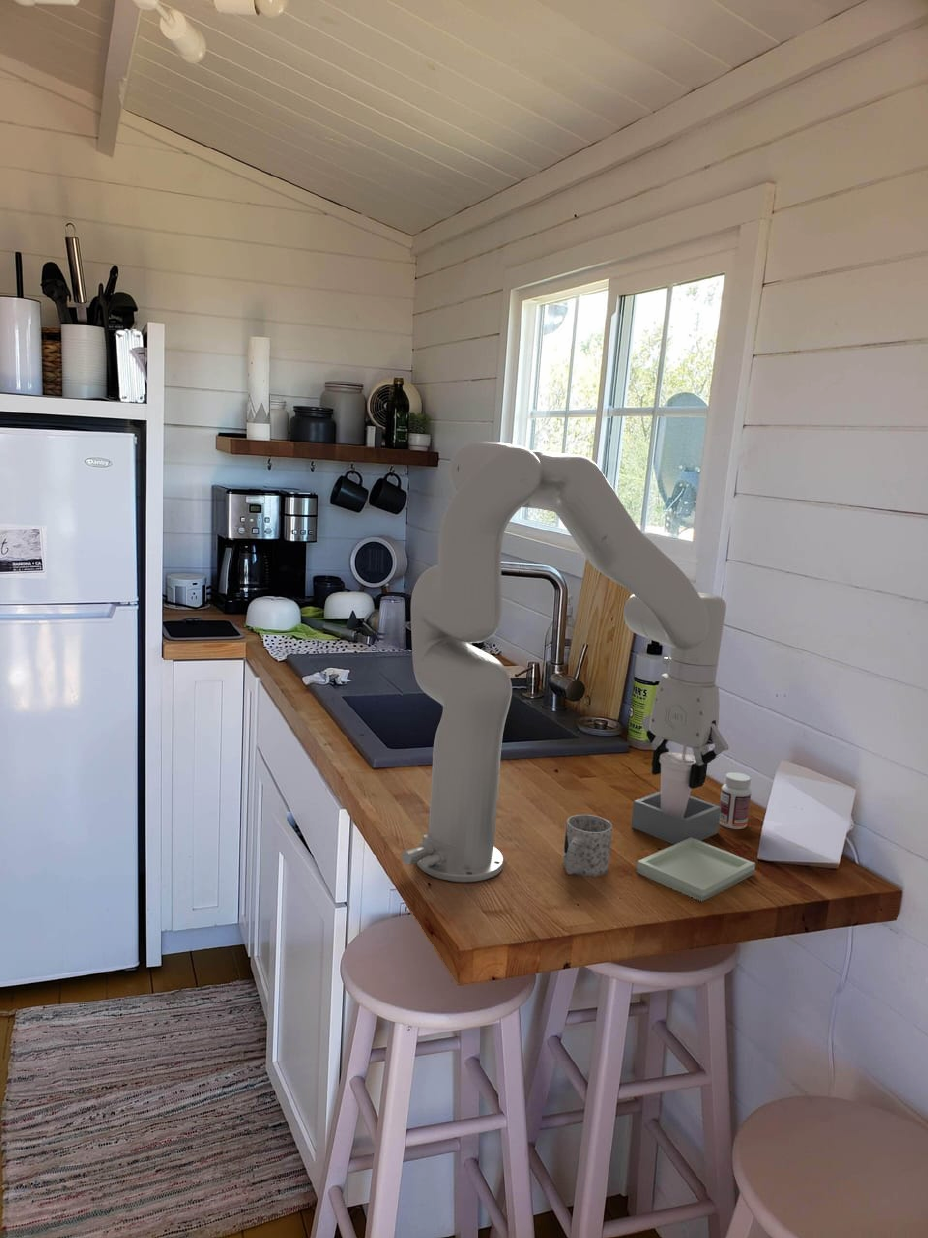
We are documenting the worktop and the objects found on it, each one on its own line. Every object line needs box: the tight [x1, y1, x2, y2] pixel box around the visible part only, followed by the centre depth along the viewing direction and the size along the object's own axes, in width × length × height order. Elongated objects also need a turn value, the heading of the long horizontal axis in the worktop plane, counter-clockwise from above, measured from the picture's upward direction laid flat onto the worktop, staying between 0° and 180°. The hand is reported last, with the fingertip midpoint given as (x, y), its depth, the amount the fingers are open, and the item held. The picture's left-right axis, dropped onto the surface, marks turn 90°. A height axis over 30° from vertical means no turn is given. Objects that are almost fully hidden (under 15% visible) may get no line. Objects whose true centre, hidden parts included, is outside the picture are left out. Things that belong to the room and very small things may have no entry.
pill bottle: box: [719, 772, 752, 830], centre depth 159 cm, size 5×5×8 cm
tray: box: [636, 837, 756, 903], centre depth 141 cm, size 14×11×2 cm
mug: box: [562, 814, 613, 877], centre depth 139 cm, size 10×7×7 cm, turn 150°
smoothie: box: [659, 745, 696, 818], centre depth 154 cm, size 6×6×14 cm
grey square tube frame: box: [630, 790, 721, 845], centre depth 156 cm, size 10×10×4 cm
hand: (677, 778), depth 154 cm, fingers closed on smoothie, 6 cm apart
